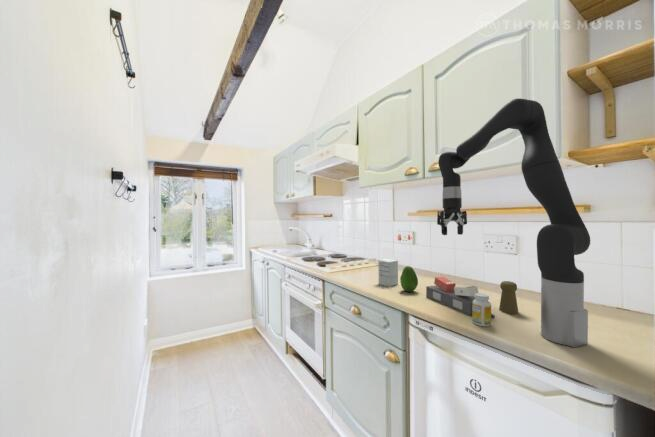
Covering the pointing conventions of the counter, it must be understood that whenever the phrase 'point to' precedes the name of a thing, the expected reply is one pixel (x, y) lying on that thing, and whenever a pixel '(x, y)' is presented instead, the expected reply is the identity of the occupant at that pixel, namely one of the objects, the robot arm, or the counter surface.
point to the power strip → (451, 299)
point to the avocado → (409, 279)
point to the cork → (508, 298)
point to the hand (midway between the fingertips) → (452, 234)
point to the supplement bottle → (481, 310)
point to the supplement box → (388, 272)
